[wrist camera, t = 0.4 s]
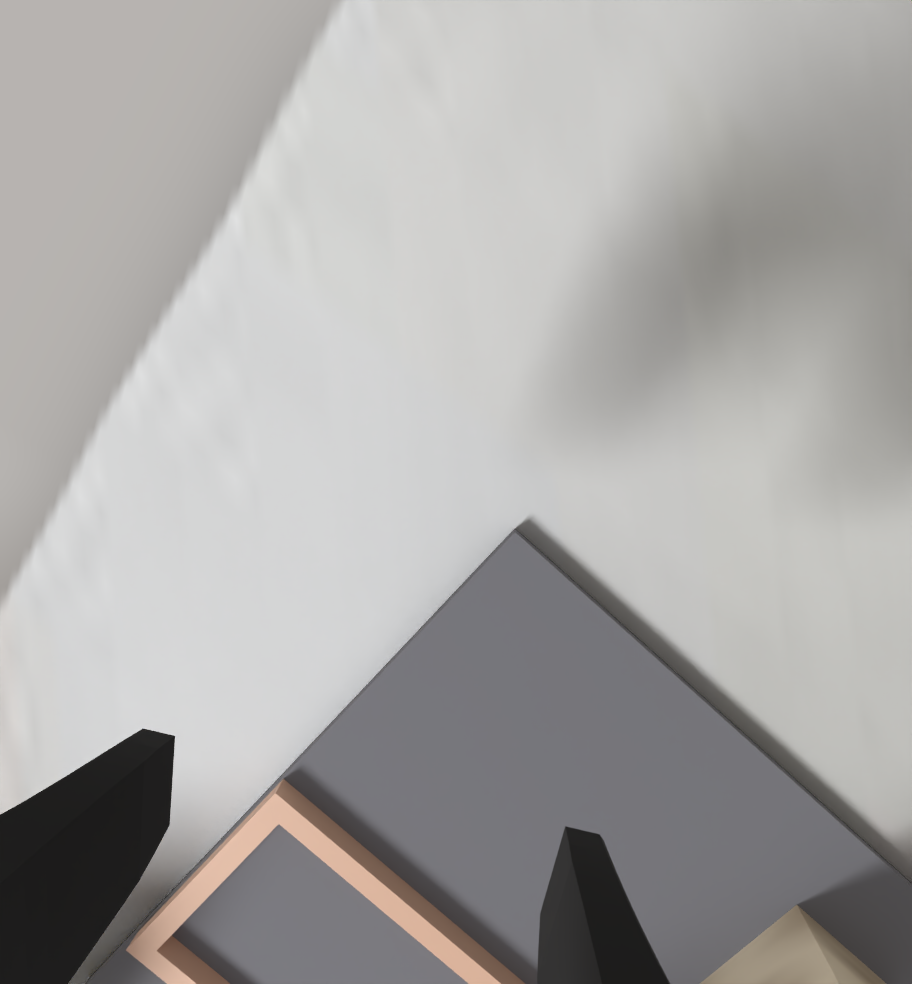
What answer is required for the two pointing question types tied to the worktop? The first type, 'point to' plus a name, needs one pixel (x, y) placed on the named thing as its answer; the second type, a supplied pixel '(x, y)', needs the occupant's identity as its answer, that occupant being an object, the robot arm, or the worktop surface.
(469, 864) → the rubber mat
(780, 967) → the cream long block
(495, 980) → the terracotta frame
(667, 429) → the worktop surface
